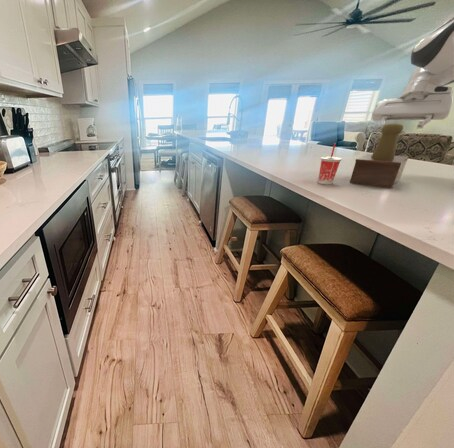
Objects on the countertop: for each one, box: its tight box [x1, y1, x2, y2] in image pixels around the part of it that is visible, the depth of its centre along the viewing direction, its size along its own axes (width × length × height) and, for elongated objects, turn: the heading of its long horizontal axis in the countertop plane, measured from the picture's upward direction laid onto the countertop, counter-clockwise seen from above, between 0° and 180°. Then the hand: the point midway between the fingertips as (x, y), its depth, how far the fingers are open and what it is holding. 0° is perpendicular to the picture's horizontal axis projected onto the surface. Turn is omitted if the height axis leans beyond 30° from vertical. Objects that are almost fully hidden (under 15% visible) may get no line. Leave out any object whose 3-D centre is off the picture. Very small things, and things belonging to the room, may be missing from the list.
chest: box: [349, 159, 408, 190], centre depth 86 cm, size 14×12×8 cm
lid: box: [355, 153, 409, 165], centre depth 84 cm, size 14×12×1 cm
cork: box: [371, 123, 404, 159], centre depth 82 cm, size 6×6×11 cm
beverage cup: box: [317, 142, 343, 185], centre depth 87 cm, size 6×6×14 cm
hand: (401, 127), depth 87 cm, fingers open, 8 cm apart
